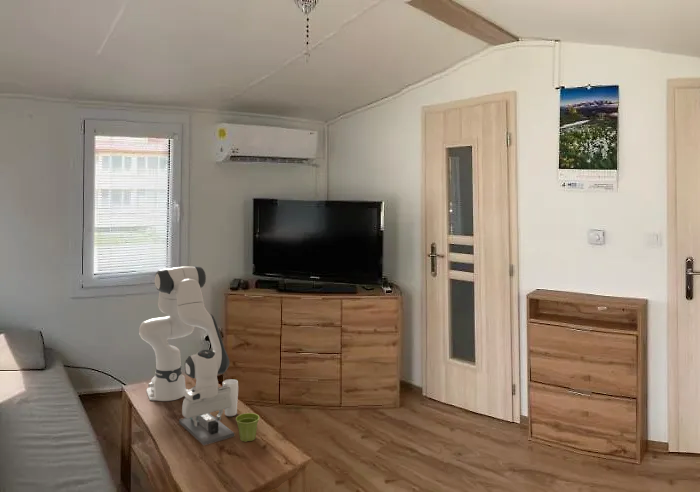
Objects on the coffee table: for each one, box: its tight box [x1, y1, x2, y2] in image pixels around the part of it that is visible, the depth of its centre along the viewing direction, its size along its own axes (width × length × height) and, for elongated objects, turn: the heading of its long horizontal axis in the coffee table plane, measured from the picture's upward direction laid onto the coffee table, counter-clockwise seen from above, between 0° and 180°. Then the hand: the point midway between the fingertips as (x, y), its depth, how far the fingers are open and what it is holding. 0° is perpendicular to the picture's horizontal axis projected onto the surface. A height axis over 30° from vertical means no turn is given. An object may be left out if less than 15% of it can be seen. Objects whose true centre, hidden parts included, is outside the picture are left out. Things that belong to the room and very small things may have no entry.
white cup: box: [222, 378, 239, 417], centre depth 240 cm, size 7×7×15 cm
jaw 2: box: [204, 414, 219, 433], centre depth 224 cm, size 16×2×4 cm, turn 38°
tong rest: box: [178, 413, 235, 446], centre depth 225 cm, size 26×13×4 cm, turn 38°
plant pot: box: [235, 412, 260, 443], centre depth 217 cm, size 9×9×9 cm
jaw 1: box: [196, 414, 215, 434], centre depth 224 cm, size 16×2×4 cm, turn 38°
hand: (207, 422), depth 223 cm, fingers open, 8 cm apart
